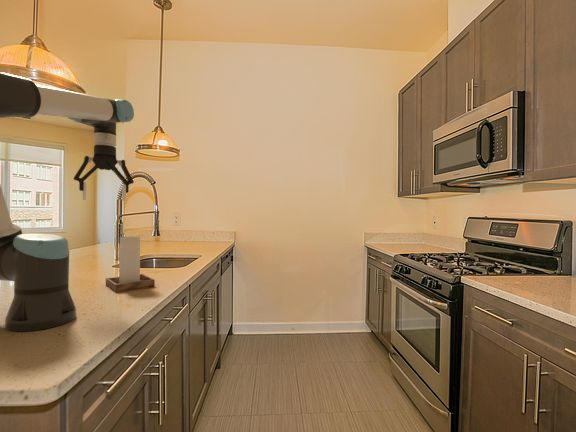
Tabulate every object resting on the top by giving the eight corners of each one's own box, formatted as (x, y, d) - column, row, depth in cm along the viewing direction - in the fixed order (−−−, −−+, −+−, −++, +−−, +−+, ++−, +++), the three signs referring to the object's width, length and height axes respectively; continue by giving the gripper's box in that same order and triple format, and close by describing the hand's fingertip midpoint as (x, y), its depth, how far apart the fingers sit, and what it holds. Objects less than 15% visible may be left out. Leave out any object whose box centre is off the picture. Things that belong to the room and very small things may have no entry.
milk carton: (139, 285, 124) (139, 237, 124) (119, 287, 121) (119, 237, 121) (139, 281, 131) (140, 235, 130) (120, 283, 128) (120, 236, 127)
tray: (115, 292, 116) (115, 284, 116) (105, 285, 127) (105, 278, 127) (154, 286, 126) (154, 279, 126) (142, 280, 136) (142, 273, 136)
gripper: (67, 139, 113) (67, 199, 113) (142, 149, 129) (141, 201, 129) (65, 142, 119) (64, 199, 119) (136, 151, 135) (136, 201, 135)
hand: (104, 200), depth 124 cm, fingers open, 13 cm apart
